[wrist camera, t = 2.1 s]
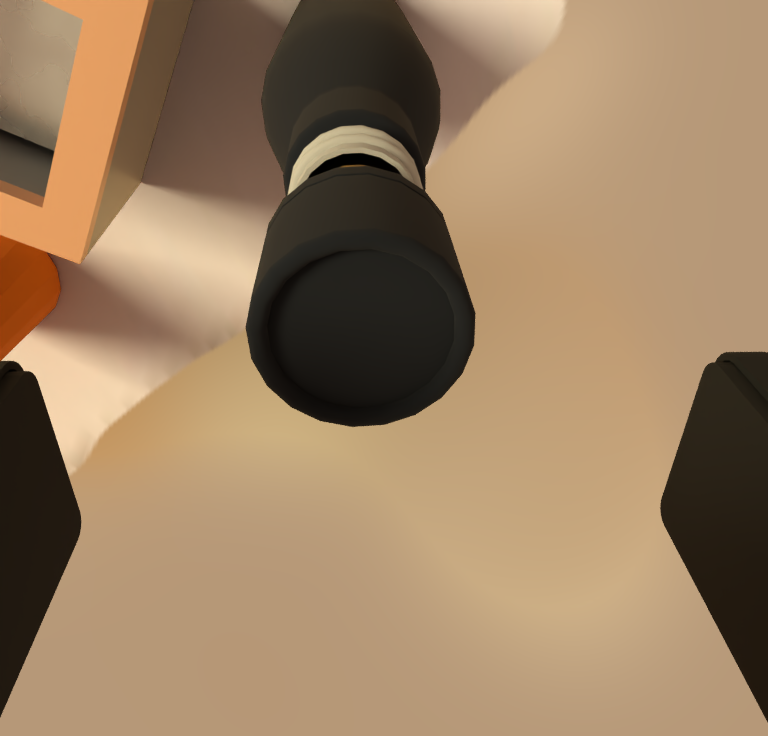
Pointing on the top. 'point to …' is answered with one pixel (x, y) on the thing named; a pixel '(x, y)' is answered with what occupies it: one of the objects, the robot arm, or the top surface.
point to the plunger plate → (35, 68)
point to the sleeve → (94, 127)
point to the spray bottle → (24, 291)
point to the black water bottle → (356, 224)
